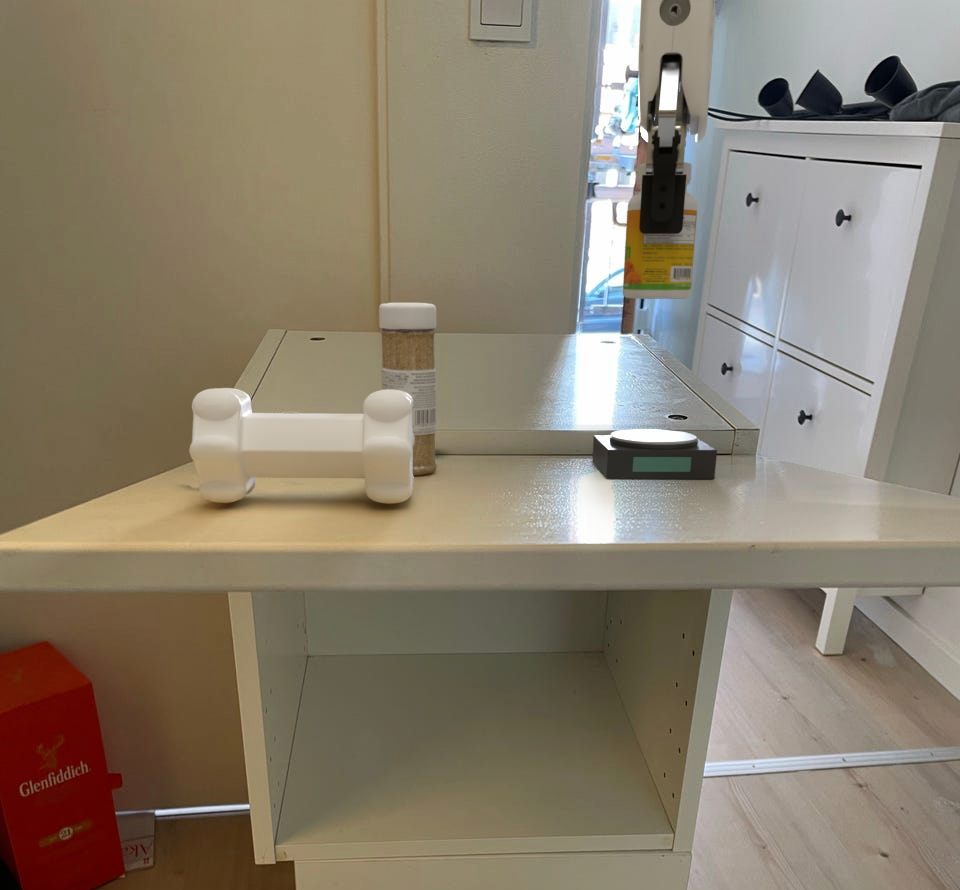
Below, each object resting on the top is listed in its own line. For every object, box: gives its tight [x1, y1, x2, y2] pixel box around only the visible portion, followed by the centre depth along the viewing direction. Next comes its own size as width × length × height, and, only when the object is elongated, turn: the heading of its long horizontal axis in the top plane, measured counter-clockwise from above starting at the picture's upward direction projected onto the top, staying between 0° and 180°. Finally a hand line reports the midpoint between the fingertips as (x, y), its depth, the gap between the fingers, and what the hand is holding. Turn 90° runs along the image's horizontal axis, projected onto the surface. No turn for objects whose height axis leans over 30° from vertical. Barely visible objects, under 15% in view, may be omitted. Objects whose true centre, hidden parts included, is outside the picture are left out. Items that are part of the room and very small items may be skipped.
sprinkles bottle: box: [378, 301, 438, 476], centre depth 80 cm, size 5×5×13 cm
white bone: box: [188, 387, 415, 505], centre depth 69 cm, size 15×9×8 cm, turn 92°
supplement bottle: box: [622, 161, 699, 300], centre depth 76 cm, size 5×5×10 cm
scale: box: [591, 428, 718, 480], centre depth 83 cm, size 9×8×3 cm
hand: (661, 232), depth 76 cm, fingers closed on supplement bottle, 5 cm apart
